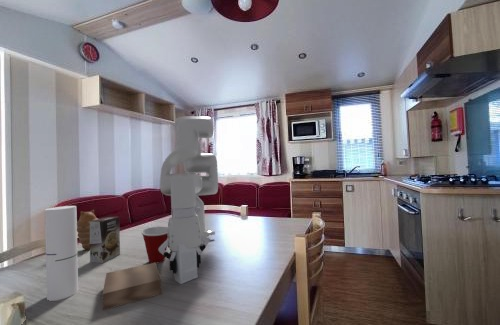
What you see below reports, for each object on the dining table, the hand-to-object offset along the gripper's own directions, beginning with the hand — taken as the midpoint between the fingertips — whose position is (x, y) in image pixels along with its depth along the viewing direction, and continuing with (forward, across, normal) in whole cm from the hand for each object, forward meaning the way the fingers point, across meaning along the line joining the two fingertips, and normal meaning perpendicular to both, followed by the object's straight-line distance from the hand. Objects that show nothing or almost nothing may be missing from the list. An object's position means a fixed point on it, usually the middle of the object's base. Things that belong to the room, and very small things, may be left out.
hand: (185, 268), depth 73 cm
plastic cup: (+4, +6, -22) cm, 23 cm away
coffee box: (+4, +24, -37) cm, 44 cm away
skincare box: (+4, 0, 0) cm, 4 cm away
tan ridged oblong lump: (+3, +32, -55) cm, 64 cm away
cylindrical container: (+4, +33, -11) cm, 35 cm away
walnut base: (+3, +15, -2) cm, 15 cm away
